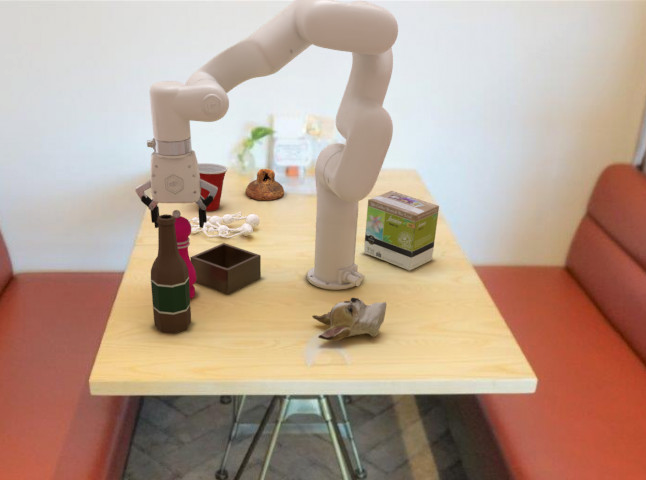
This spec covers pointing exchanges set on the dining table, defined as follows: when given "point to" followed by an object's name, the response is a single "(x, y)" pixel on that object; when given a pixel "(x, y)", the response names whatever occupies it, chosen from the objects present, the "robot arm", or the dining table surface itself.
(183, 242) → the pepper mill
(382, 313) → the ceramic sculpture
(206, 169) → the plastic cup
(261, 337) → the dining table surface
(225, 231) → the tangled rod sculpture
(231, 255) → the box
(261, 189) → the bell
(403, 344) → the dining table surface
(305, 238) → the dining table surface
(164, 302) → the beer bottle
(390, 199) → the tea box
